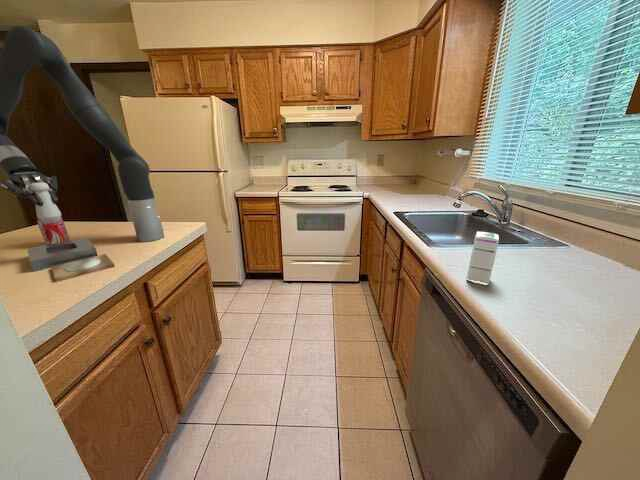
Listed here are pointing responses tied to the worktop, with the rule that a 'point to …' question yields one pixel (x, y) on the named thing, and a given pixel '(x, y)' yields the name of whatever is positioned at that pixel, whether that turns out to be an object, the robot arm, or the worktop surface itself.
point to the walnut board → (81, 267)
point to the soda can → (53, 232)
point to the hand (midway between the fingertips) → (48, 203)
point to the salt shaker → (45, 204)
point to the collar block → (60, 253)
